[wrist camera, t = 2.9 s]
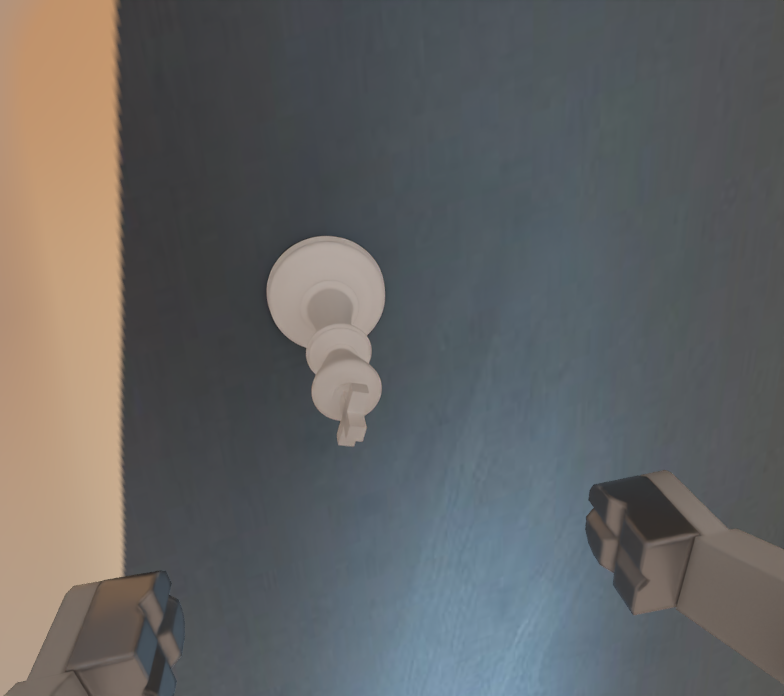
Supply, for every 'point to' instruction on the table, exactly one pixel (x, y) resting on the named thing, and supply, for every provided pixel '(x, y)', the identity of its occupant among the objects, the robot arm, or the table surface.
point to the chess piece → (332, 324)
